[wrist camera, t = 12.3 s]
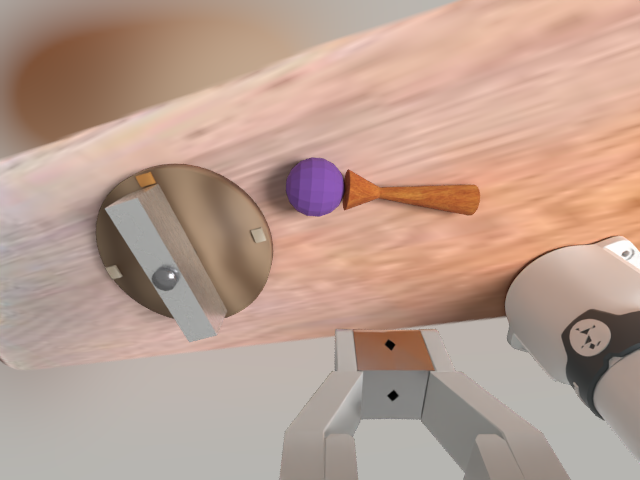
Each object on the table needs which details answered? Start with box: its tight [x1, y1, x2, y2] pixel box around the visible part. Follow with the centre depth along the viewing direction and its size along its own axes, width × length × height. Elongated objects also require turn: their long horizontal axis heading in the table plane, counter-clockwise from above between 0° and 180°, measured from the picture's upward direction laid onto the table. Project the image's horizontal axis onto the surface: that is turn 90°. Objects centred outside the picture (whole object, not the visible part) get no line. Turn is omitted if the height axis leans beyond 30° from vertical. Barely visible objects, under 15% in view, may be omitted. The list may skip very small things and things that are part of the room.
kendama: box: [286, 158, 480, 216], centre depth 36 cm, size 6×6×20 cm
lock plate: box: [96, 164, 273, 318], centre depth 41 cm, size 20×20×3 cm
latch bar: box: [105, 184, 227, 342], centre depth 37 cm, size 17×4×5 cm, turn 18°
